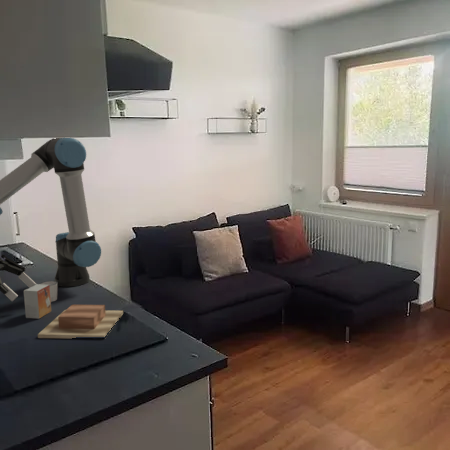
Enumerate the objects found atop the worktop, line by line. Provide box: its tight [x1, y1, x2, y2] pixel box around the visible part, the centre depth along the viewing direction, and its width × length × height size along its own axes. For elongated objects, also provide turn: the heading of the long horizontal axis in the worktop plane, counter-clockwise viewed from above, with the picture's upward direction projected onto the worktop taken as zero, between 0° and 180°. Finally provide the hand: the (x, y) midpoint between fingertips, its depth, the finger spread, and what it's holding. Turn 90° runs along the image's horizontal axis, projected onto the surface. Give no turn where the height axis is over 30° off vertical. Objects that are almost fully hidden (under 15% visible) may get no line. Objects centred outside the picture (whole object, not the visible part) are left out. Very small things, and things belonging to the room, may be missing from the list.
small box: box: [23, 283, 52, 319], centre depth 166 cm, size 8×6×10 cm
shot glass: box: [39, 280, 58, 303], centre depth 182 cm, size 7×7×7 cm
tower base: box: [37, 304, 124, 339], centre depth 156 cm, size 22×22×5 cm
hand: (24, 292), depth 164 cm, fingers open, 13 cm apart
